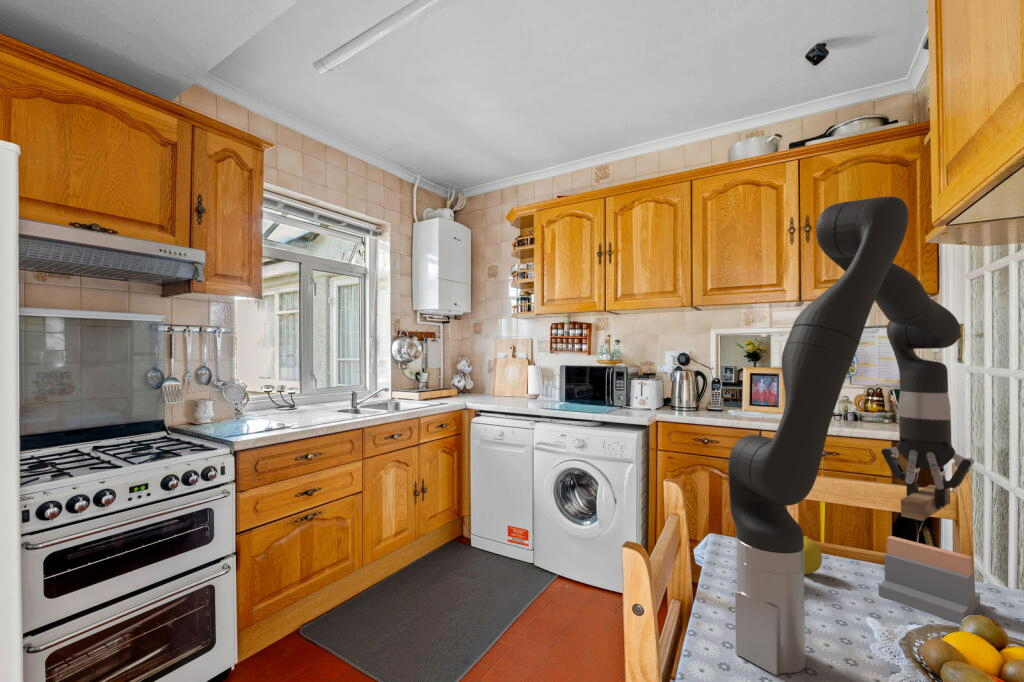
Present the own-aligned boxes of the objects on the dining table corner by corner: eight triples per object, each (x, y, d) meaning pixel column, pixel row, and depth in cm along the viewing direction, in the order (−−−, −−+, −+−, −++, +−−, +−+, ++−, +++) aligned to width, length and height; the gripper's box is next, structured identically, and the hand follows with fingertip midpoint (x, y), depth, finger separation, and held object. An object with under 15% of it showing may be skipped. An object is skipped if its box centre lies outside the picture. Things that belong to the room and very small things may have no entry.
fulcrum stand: (963, 625, 80) (961, 566, 80) (878, 595, 90) (877, 543, 90) (980, 604, 87) (978, 550, 87) (899, 579, 97) (898, 530, 97)
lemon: (828, 580, 96) (827, 541, 96) (801, 580, 96) (800, 541, 96) (811, 568, 101) (811, 531, 102) (785, 568, 101) (785, 531, 102)
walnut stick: (930, 499, 95) (930, 484, 95) (950, 503, 93) (949, 488, 93) (901, 516, 85) (900, 499, 85) (922, 520, 83) (921, 503, 83)
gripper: (979, 418, 86) (982, 512, 85) (886, 410, 97) (888, 493, 97) (969, 421, 82) (972, 520, 81) (872, 413, 93) (875, 499, 93)
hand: (926, 505), depth 89 cm, fingers closed on walnut stick, 3 cm apart
